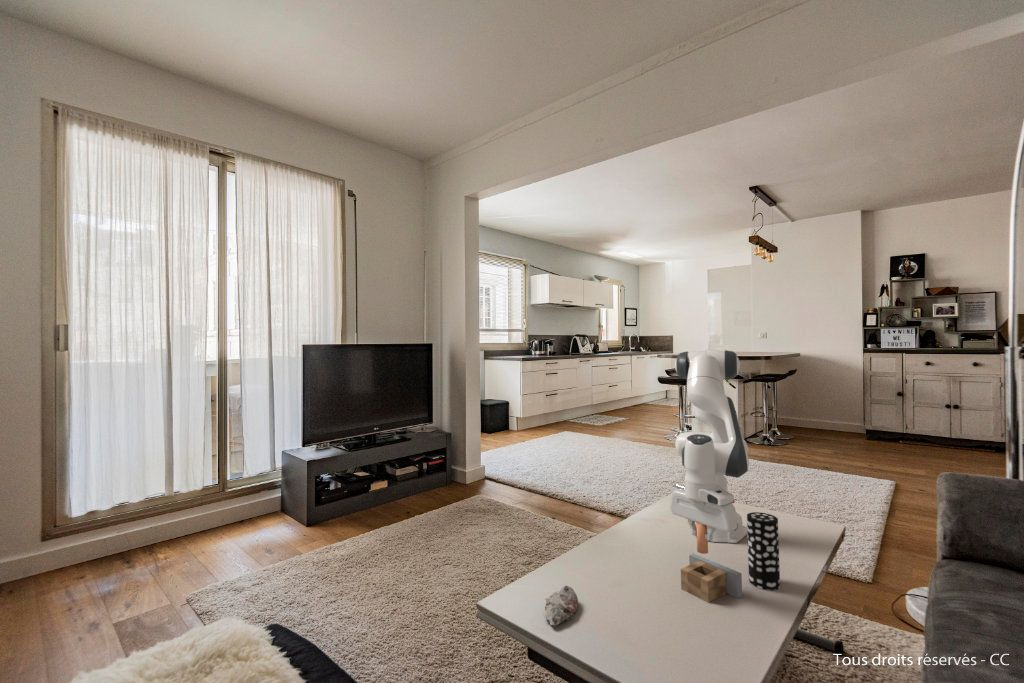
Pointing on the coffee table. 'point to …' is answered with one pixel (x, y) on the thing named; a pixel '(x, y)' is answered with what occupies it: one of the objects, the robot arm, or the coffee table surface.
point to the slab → (731, 575)
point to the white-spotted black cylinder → (763, 550)
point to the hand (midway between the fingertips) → (702, 537)
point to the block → (703, 581)
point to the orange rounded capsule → (701, 538)
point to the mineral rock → (561, 605)
